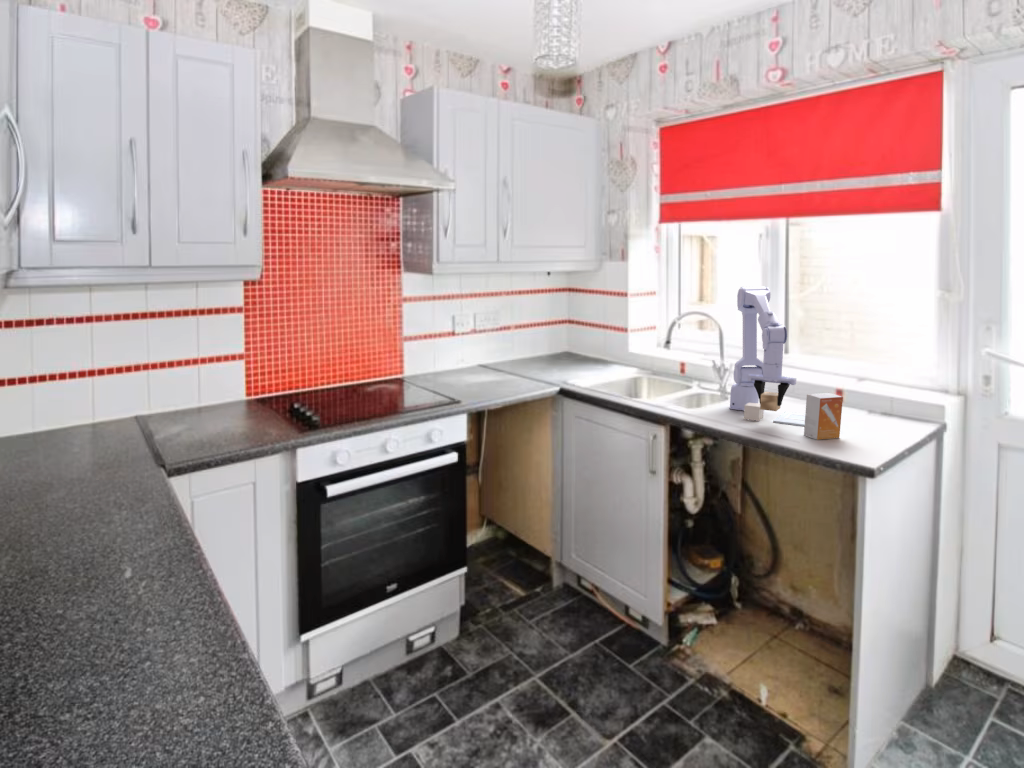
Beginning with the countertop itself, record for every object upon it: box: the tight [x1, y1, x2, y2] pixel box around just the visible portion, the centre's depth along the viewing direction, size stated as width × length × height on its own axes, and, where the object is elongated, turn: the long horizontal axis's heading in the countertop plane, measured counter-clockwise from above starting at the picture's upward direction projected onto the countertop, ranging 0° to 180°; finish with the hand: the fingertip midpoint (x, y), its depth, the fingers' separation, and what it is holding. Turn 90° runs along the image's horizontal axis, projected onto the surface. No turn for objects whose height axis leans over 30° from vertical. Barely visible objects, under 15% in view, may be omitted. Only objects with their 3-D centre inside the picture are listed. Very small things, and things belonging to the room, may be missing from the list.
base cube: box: [759, 391, 781, 412], centre depth 213 cm, size 5×5×5 cm
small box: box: [803, 392, 844, 441], centre depth 199 cm, size 8×6×13 cm
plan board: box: [773, 411, 805, 427], centre depth 221 cm, size 12×15×1 cm
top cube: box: [743, 402, 765, 422], centre depth 224 cm, size 5×5×5 cm
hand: (770, 404), depth 213 cm, fingers closed on base cube, 5 cm apart
